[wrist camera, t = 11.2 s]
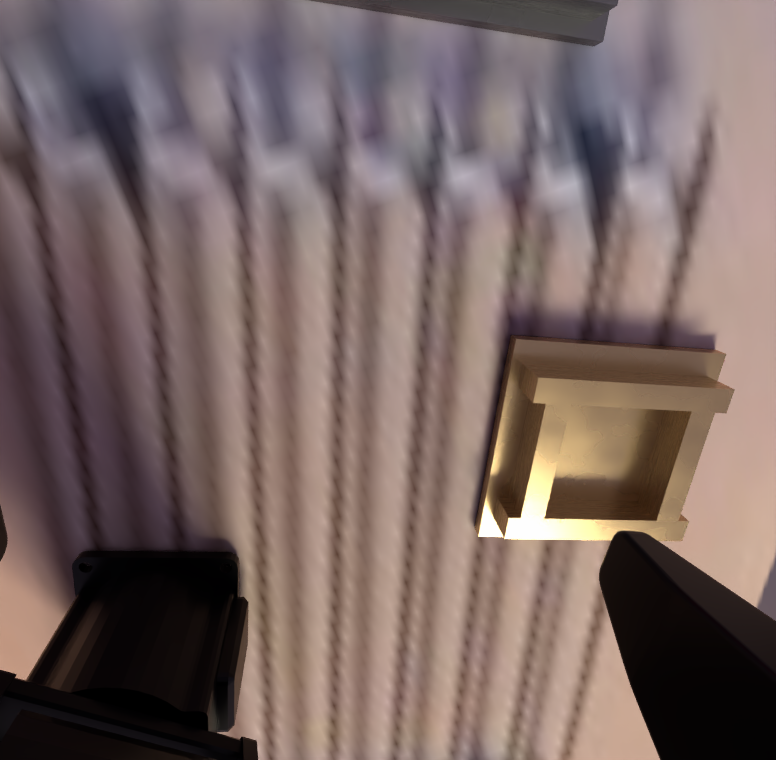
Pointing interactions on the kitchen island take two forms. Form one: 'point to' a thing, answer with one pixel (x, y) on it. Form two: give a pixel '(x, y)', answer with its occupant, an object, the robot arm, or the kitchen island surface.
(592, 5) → the graphite square tray
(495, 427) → the brass square tray
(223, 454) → the kitchen island surface
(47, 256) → the kitchen island surface
